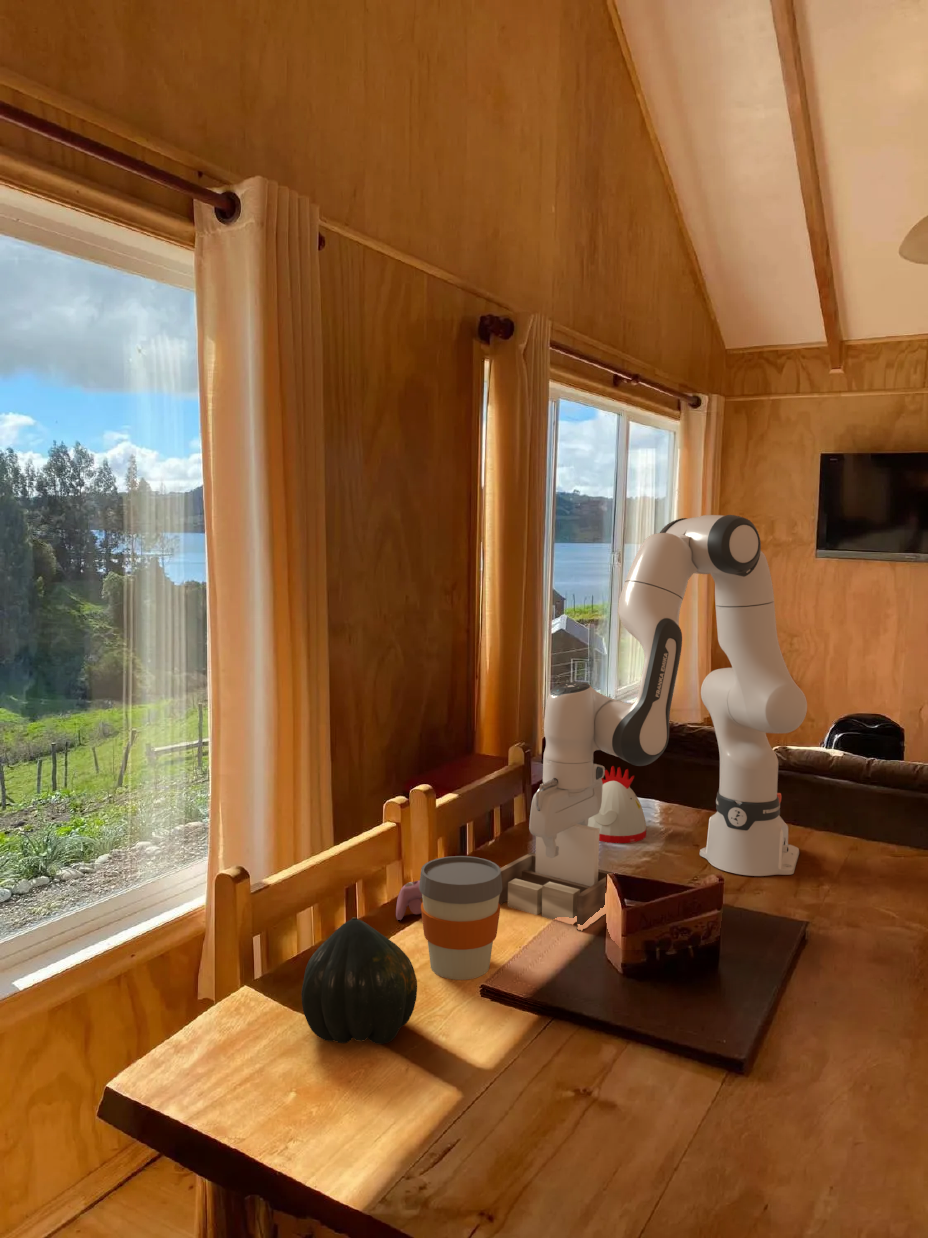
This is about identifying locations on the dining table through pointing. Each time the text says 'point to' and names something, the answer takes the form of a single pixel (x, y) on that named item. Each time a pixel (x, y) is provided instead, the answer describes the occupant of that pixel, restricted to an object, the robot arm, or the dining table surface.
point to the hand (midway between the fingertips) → (565, 849)
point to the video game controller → (409, 899)
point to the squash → (358, 986)
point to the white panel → (571, 855)
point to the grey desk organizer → (586, 900)
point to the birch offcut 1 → (525, 896)
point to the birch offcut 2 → (559, 901)
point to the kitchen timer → (619, 811)
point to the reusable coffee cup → (460, 914)
